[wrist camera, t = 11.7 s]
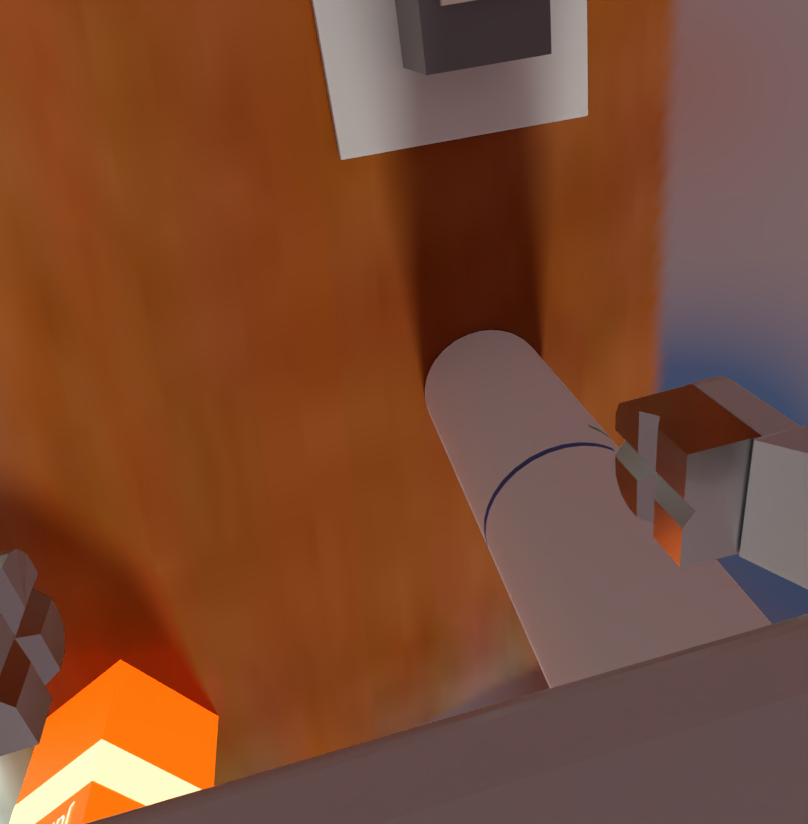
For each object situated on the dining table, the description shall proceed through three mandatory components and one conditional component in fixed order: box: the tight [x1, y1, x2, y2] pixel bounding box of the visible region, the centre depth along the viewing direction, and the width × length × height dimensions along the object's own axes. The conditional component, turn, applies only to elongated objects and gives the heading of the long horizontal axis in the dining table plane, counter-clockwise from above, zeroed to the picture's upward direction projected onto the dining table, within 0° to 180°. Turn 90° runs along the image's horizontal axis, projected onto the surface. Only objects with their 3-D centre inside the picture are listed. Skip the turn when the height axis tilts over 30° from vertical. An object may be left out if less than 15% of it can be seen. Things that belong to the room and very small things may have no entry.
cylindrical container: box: [425, 330, 772, 688], centre depth 30 cm, size 7×7×25 cm
